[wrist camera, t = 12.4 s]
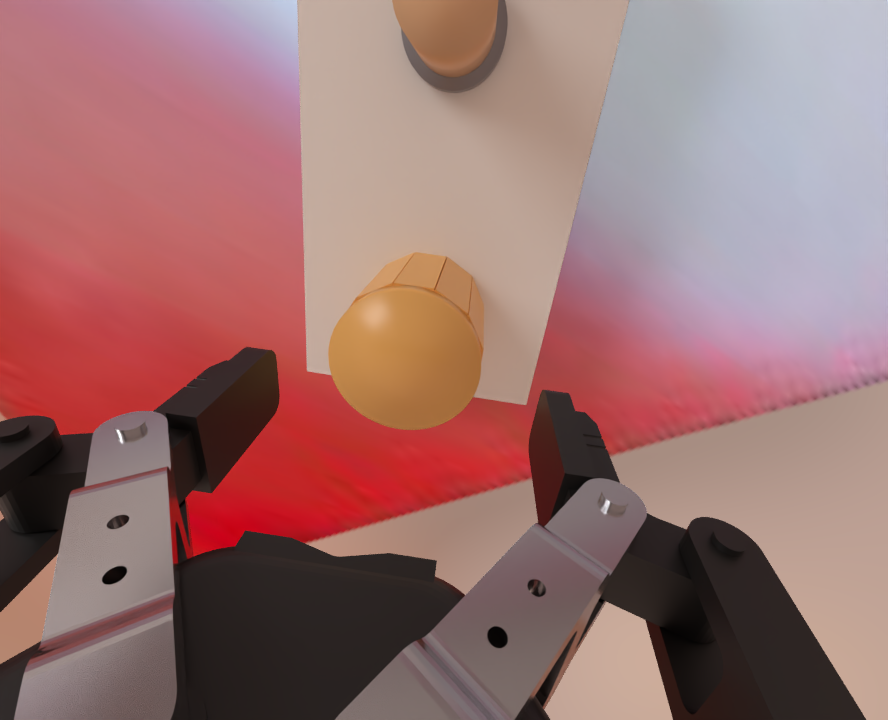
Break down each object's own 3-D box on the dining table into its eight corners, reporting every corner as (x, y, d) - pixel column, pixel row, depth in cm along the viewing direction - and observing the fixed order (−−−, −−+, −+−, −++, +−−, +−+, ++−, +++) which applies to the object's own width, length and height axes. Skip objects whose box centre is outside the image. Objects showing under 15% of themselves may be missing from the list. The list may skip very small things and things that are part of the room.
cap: (371, 245, 19) (327, 280, 14) (491, 262, 19) (493, 304, 14) (367, 353, 22) (328, 418, 16) (472, 369, 22) (468, 439, 16)
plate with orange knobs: (324, -109, 16) (212, -295, 10) (630, -71, 16) (733, -233, 9) (326, 348, 25) (268, 417, 19) (521, 378, 25) (535, 459, 18)
